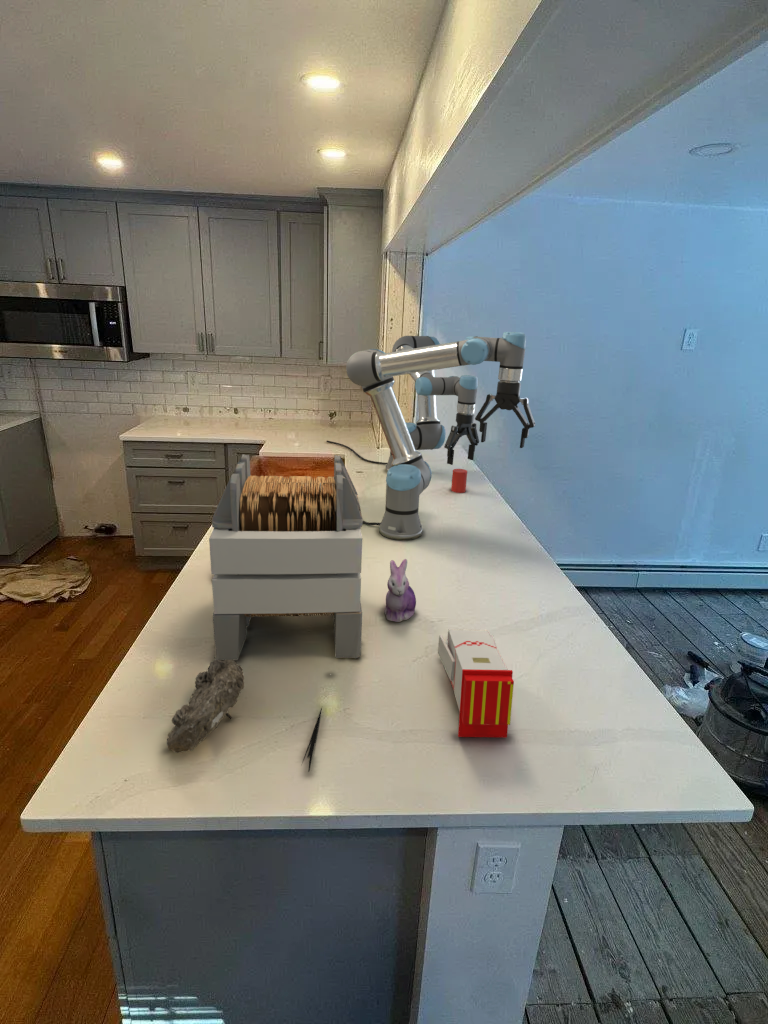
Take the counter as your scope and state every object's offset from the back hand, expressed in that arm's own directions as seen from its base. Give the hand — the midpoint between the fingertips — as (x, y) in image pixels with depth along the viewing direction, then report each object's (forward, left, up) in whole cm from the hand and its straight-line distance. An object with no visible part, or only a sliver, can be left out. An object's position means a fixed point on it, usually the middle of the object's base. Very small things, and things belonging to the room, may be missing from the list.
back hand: (460, 461), depth 247 cm
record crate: (+49, -119, -13) cm, 129 cm away
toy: (+95, -105, -13) cm, 142 cm away
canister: (0, 0, -13) cm, 13 cm away
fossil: (+69, -150, -13) cm, 165 cm away
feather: (+82, -134, -13) cm, 158 cm away
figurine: (+63, -95, -13) cm, 115 cm away
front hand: (+41, -28, +19) cm, 54 cm away
